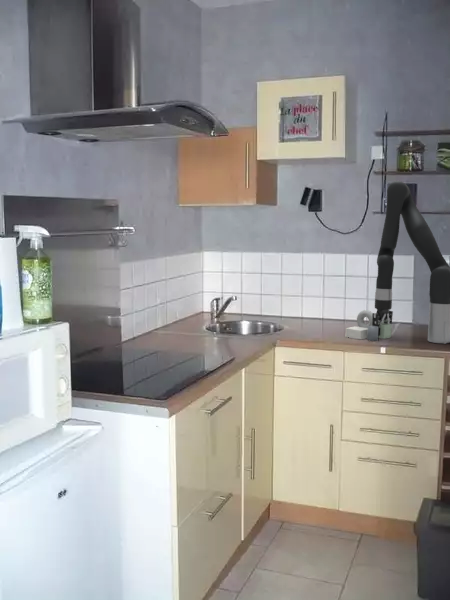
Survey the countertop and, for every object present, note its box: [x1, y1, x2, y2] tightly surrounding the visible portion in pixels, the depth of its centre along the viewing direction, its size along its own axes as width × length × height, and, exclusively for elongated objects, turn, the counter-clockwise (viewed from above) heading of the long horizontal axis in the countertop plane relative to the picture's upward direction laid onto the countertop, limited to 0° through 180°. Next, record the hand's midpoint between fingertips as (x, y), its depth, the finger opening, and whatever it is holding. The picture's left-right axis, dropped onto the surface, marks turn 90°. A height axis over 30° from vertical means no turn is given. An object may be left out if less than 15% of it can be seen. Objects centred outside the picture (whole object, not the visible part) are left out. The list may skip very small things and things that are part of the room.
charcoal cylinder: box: [366, 326, 379, 342], centre depth 289 cm, size 5×5×6 cm
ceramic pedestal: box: [344, 325, 368, 340], centre depth 295 cm, size 8×8×4 cm
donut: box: [356, 309, 374, 328], centre depth 312 cm, size 10×3×10 cm, turn 46°
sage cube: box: [378, 323, 393, 340], centre depth 296 cm, size 6×6×6 cm
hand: (381, 334), depth 297 cm, fingers open, 6 cm apart
